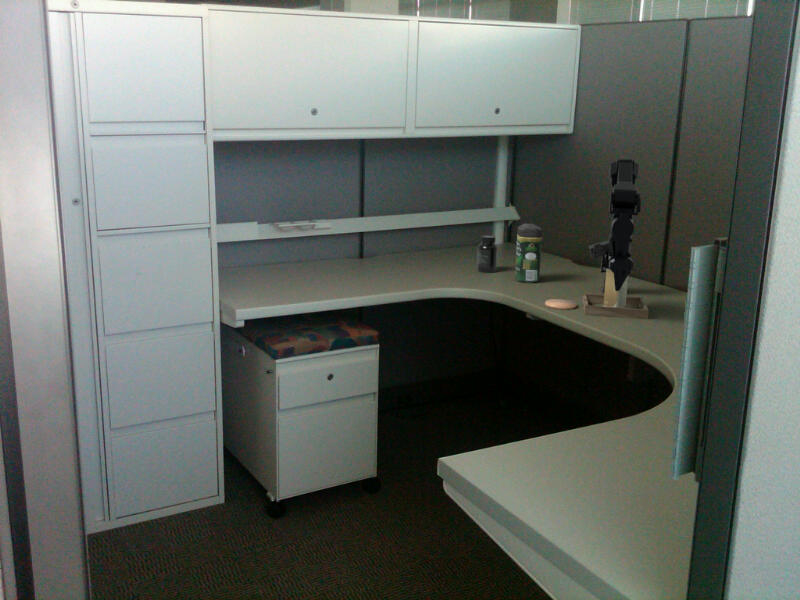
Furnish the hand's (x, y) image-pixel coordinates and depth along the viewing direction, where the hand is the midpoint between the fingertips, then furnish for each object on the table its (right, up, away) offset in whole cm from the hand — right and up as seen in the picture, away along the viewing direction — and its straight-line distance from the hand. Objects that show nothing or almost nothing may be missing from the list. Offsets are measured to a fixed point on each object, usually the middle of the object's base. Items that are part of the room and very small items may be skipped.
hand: (616, 287), depth 228 cm
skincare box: (0, -7, +2) cm, 7 cm away
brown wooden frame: (0, -6, +2) cm, 6 cm away
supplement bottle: (-31, +6, +50) cm, 60 cm away
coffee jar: (-20, +3, +37) cm, 42 cm away
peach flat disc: (-15, -5, +5) cm, 16 cm away
